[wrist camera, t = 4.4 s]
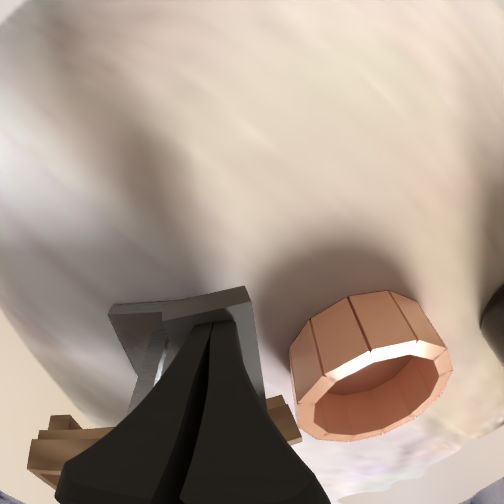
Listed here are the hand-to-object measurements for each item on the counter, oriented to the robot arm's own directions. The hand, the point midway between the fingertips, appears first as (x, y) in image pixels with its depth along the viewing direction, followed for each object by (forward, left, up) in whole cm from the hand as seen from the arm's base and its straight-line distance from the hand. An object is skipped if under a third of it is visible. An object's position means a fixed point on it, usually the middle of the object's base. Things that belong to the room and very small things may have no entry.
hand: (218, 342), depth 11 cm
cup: (-3, -11, -6) cm, 13 cm away
